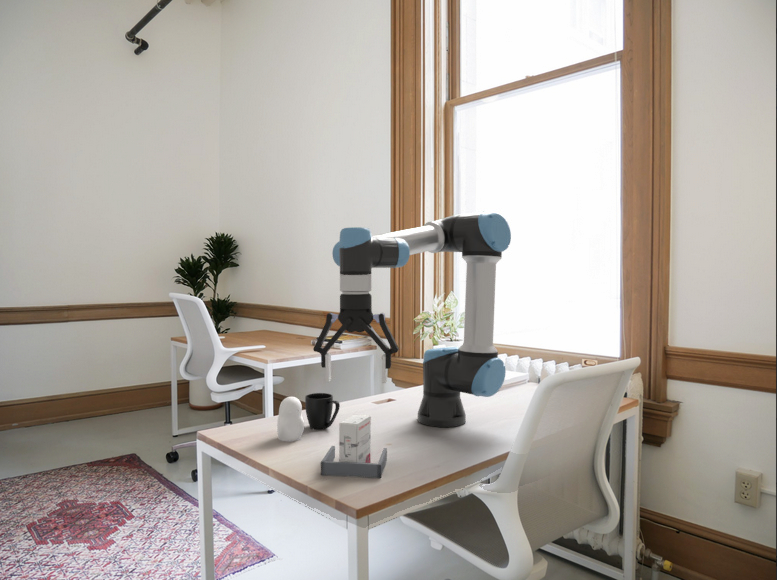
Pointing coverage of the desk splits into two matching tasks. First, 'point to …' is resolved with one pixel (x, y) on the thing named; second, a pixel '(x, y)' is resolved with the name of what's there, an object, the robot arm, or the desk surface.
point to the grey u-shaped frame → (352, 466)
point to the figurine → (290, 420)
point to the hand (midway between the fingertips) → (356, 381)
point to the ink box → (355, 439)
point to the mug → (320, 410)
